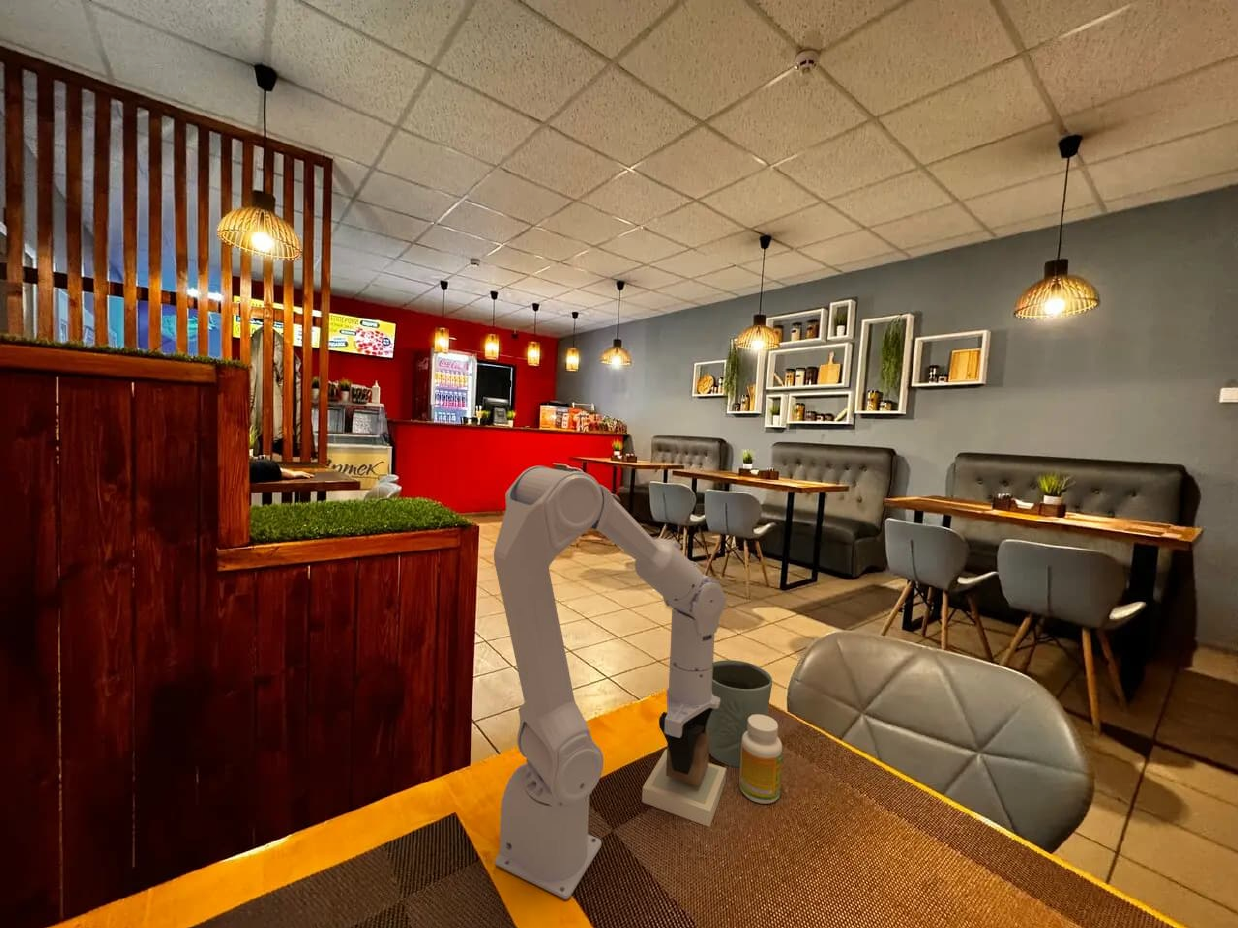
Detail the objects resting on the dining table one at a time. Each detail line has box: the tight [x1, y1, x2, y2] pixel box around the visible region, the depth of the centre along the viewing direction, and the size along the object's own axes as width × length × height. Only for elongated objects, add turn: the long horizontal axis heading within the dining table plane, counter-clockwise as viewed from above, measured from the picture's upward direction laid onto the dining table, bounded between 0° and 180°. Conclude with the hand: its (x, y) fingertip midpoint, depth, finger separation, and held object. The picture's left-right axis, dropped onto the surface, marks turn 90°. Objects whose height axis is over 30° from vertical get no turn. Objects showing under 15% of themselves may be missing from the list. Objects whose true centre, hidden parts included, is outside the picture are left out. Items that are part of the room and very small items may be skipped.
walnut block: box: [666, 733, 710, 787], centre depth 67 cm, size 4×4×4 cm
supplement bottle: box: [738, 714, 783, 804], centre depth 67 cm, size 5×5×10 cm
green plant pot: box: [705, 659, 773, 768], centre depth 76 cm, size 10×10×12 cm
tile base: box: [641, 748, 727, 828], centre depth 67 cm, size 9×9×2 cm
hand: (686, 759), depth 67 cm, fingers closed on walnut block, 4 cm apart
